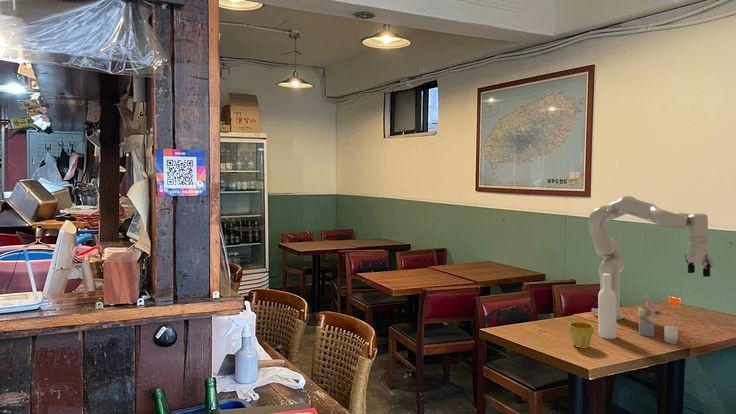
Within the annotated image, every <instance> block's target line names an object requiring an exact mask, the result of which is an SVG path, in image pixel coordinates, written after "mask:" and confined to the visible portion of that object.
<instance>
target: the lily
mask: <svg viewBox="0 0 736 414" xmlns="http://www.w3.org/2000/svg"><path fill="white" fill-rule="evenodd" d="M644 293H645V295H646V296H644V295H643V296H642V297H643V298H644V299H645V301H646V304H645V305H643V306H642V308H646V307H649V308H653V310H654V314H657V312H656V310H657V311H658V312H659V311H660V310H659V308H658V306H656V305H655V304H654V303H655V302H654V301H653V300H652V299H650V298H651V297H650V296H649V295H648V293H647V292H645V291H644Z"/></svg>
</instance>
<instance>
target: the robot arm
mask: <svg viewBox="0 0 736 414" xmlns="http://www.w3.org/2000/svg"><path fill="white" fill-rule="evenodd" d="M625 215H630V216H633V217H636V218H639V219H643V220H646V221H648V222H651V223H653V224H656V225H658V226H659V225H660V226H662V227H665V228H668V229H672V230H684V229H686V228H687V229H688V231H689V234H688V235H689V237H688V242H687V247H686V254H684V258H685V262H686V265H687V274H694V273H695V271H696V269H695V268H696V266H695V265H696V264H697V265H701V266H702V267H703V268H702V276H703V278H707V277H711V268H712V267H713V265H714V262H715V260H714V259H713V258H712V257H711V254H710V253H711V252H710V244H709V217H708V215H707V214H706V213H686V212H685V213H684V212H677V213H675V212H674V213H673V212H671V211H667V210H665V209H662V208H660V207H658V206H656V205H655V204H654V203H650V202H647V201H644V200H641V199H640V200H639V199H636V198H635V197H634V196H631V195H625V196H621V197H620V198H618V200H616V201H613V202H611V203H608V204H605V205H601V206H598V207H596V208H594V210H593V211H591V213H590V214H589V216H588V219H587V220H588V222H587V224H588V230H589V232H590V235H591V239H592V242H593V243H592V244H593V245H594V246H593V247H594V250H595V252H596V254H597V255H598V256H599V257H603V260H602V261H601V262H600V264H599V266H598V274H599V275H598V276H599V282H600V284H599V285H600V287H599V288H600V290H602V289H603V278H602V276H603V274H611V289H612V290H613V291H614V292H615V295H616V321H619V320H623V319H624V318H625V317H624V315H623V314H622V313H621V281H620V280H621V279H620V273H621V272H622V271H623V270H624V268H625V262H624V259H623V256H622V253H621V248H620V246H619V243H618V241H617V240H616V239H615V238H613V237H610V233H609V230H608V228H607V225H606V222H609V221H612V220H616V219H617V218H620V217H623V216H625ZM600 290H599V291H600ZM591 312H593V313H595V314H598V308H594V307H592V308H591Z"/></svg>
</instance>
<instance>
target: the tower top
mask: <svg viewBox="0 0 736 414" xmlns="http://www.w3.org/2000/svg"><path fill="white" fill-rule="evenodd" d="M639 322H640V323H649V324H654V325H655V311H654V310H653V308H651V307H644V308H643V306H642V307H641V306H638V323H639Z"/></svg>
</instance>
